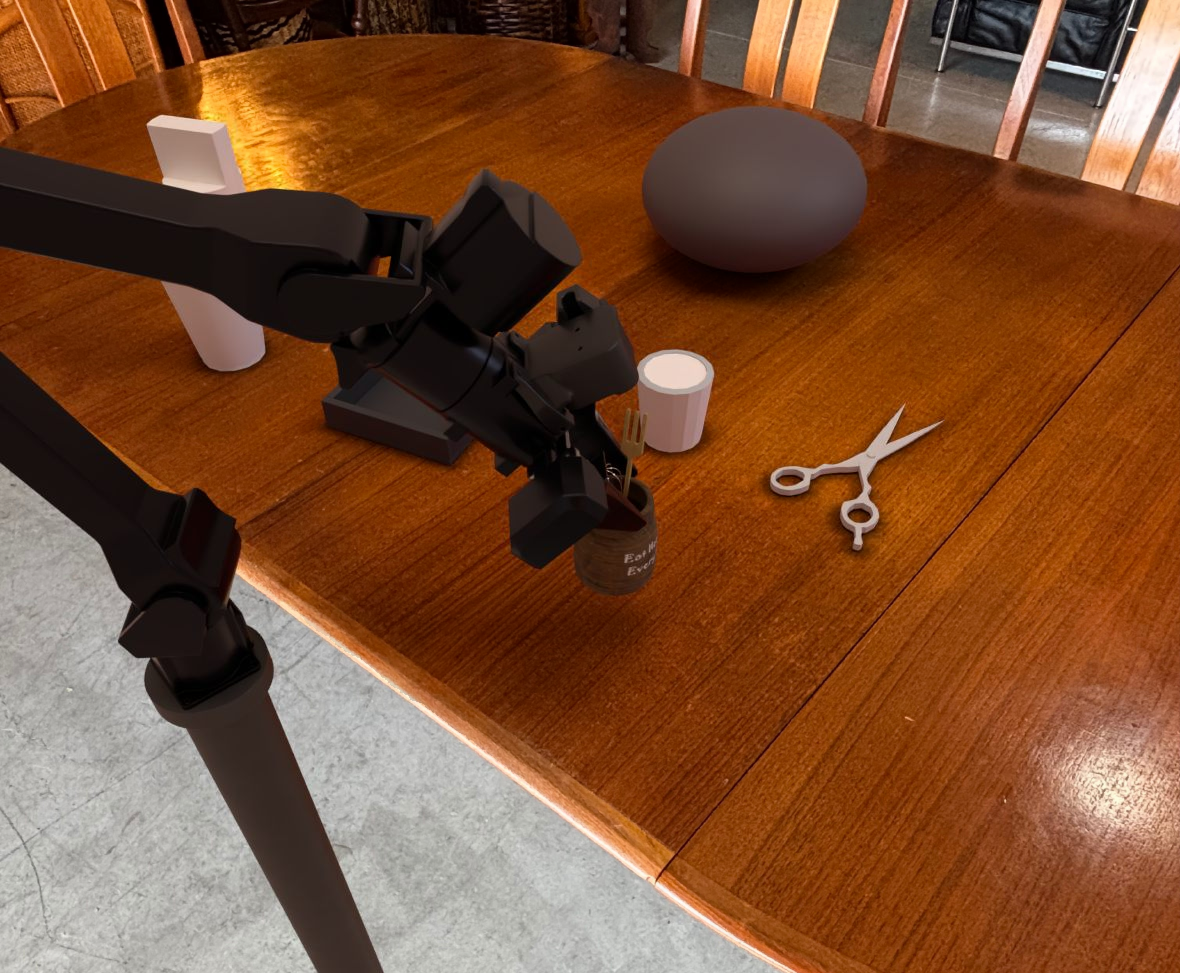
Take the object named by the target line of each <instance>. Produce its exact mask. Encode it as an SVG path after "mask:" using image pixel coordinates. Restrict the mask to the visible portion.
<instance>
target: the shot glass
mask: <svg viewBox="0 0 1180 973" xmlns="http://www.w3.org/2000/svg"><path fill="white" fill-rule="evenodd" d="M636 367H637V370H638V373H639V380H638V382H637V384H636V385H637V396H638V407H639V408H638V411H639V421H640V428H641V427H642V421H643V414H644V413H647V414H648V419H647V426H646V434H645V441H644V443H645V444H646V445H648V446H649V447H651V448H652V449H655V450H657V451H658V452H665V453H682V452H685V451H687V450H690V449H693V448H694V447H695V446H696V445H698V444H699V442H700V441H701V439H702V438H701V437H702V434H703V430H704V426H705V425H704V424H705V420H706V415H707V411H708V406H709V401H710V396H711V392H712V387H713V382H714V377H715V371H714V367H713V365H712V363H710V361H708V360H707V359H706V358H705V357H704V356H703V355H700V354H697V353H695V352H693V351H689V350H683V349H676V348H675V349H663V350H659V351H655V352H653V353H649V354H648V355H647V356H645V357H644V358H643V359H642V360H640V361H639V363H638V365H637V366H636Z"/></svg>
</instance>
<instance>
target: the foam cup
mask: <svg viewBox="0 0 1180 973" xmlns="http://www.w3.org/2000/svg"><path fill="white" fill-rule="evenodd" d="M160 282H161V285H162V287H163V288H164V290H165V291H166V294H167V296H168V298H169V299H170V302H171V303H172V305H173V307H174V309H175V311H176V313H177V315H178V317H179V319H180V320H181V322H182V324H183V326H184V328H185V330H186V332H187V334H188V336H189V338H190V339H191V342H192V343H193V345H194V347H195V349H196V351H197V353H198V355H199V357H200V358H201V359H202V362H203V364H205V365H206V366H207V367H208V368H209V369H212V370H215V371H219V372H236V371H240V370H243V369H246V368H250V367H251V366H253V365H255V364H257V363H258V362H260V361H261V359H262V358H263V357H264V355H265V354H266V345H265V344H266V343H265V335H264V326H261V325H258V324H256V323H253V322H250V321H248V320H246V319H245V318H243V317H242V316H241V315H239V314H238V313H237V312H235V311H234V310H232V309H231V308H230V307H228V306H227V305H226V304H224V303H223V302H221V301H220V300H219V299H217V298H216V297H214V296H212V295H210V294H208V293H205V292H202V291H199V290H196V289H193V288H191V287H187V286H183V285H178V284H173V283H168V282H163V281H160Z"/></svg>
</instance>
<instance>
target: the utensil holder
mask: <svg viewBox="0 0 1180 973" xmlns="http://www.w3.org/2000/svg"><path fill="white" fill-rule="evenodd" d="M631 414H632V409H630V408H626V410H625V416H624V422H623V430H622V437H621V443H620V445H621V451H622V452H623V453H624V454H625V455H626V456H627V457H628V462H627V469H626V475H621V473H620V475H614V474H613V473H612V467H611V472H610V471H608V470H607V471H608V472H610V473H612V474H613V475H608V481H609V482H610V483H611V484H612V485H613V486H614V487H615V488H616V489H617V490H618V491H619V492H620V493H621V494H623V495H624V496H625V497H626V498H627V499H628V500H629V501H630V502H631V503H632V504H633V505H634V506H635V507H636V508H637V509H638V510H639V511H640V513H641V514H642V515H643V516H644V517H645V518H646V520H647V524H646V525H645V526H644V527H643V528H641V529H640V530H639V531H637V532H630V531H618V530H605V529H593V530H592V531H590V532H589V533H588V534H586V535H585V536H584V537H583V538H581V539H580V540H579V541H577V542H576V543H575V544H574V545H573V565H574V566H573V567H574V570H575V573H576V576H577V578H578V580H579V581H580V582H581V583H582V585H584V586H585V587H586V588H588V589H589V590H590V591H592V592H594V593H597V594H600V595H604V596H610V597H619V596H620V597H621V596H626V595H631V594H634V593H636V592H638V591H639V590H641V589H642V588H644V587H645V586H646V585H647V584H648V583H649V581H650V580H651V578H652V577H653V574H654V570H655V567H656V559H657V548H658V531H659V530H658V522H657V517H656V515H655V511H656V510H655V509H656V505H655V499H654V495H653V491H652V490H651V489H650V487H649V486H648V485H647V484H646V483H644V482H643V481H641V480H640V479H638V478H636V477H634V478H633V477H631V470H632V463H633V464H634V459H635V458H638V457H641V456H642V455H643V454H644V447H645V434H646V426H647V419H648V414H647V413H644V414H643V421H642V427H641V426H640V434H639V441H638V442H637V434H638V427H639V421H640V410H635V411H634V416H633V421H632V427H631V428H632V429H631V434H630V440H629V439H628V437H629V428H630V422H631ZM607 465H608V464H607ZM607 465H606V466H607ZM610 466H611V464H610ZM607 469H610V468H607ZM613 469H616V468H613ZM616 470H618V469H616ZM618 471H619V470H618ZM619 472H620V471H619Z"/></svg>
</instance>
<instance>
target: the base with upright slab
mask: <svg viewBox="0 0 1180 973" xmlns="http://www.w3.org/2000/svg"><path fill="white" fill-rule="evenodd" d="M146 128H147V131H148V134H149V138H150V141H151V144H152V146H153V149H154V153H155V155H156V159H157V162H158V165H159V168H160V171H161V174H162V176H163V178H162V180H161V182H162V184H165V185H169V186H173V187H178V188H182V189H186V190H191V191H195V192H199V193H206V194H220V195H231V194H237V193H243V192H247V189H246V185H245V182H244V181H245V180H244V178H243V175H242V171H241V168H240V167H239V166H238V162H237V159H236V156H235V152H234V148H233V144H232V140H231V137H230V134H229V129H228V126H227V123H226V122H222V121H221V122H219V121H213V120H207V119H206V120H205V119H197V118H189V117H182V116H173V115H166V114H160V115H158V116H155V117H153V118H152V119H150V120H149V121H148V122H147V123H146Z"/></svg>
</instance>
